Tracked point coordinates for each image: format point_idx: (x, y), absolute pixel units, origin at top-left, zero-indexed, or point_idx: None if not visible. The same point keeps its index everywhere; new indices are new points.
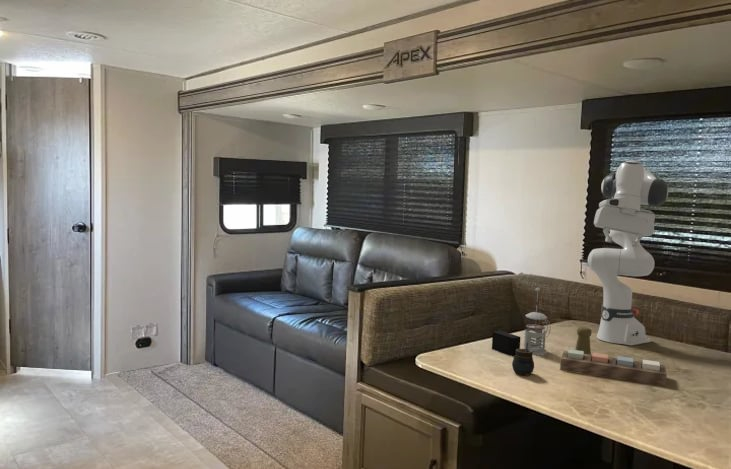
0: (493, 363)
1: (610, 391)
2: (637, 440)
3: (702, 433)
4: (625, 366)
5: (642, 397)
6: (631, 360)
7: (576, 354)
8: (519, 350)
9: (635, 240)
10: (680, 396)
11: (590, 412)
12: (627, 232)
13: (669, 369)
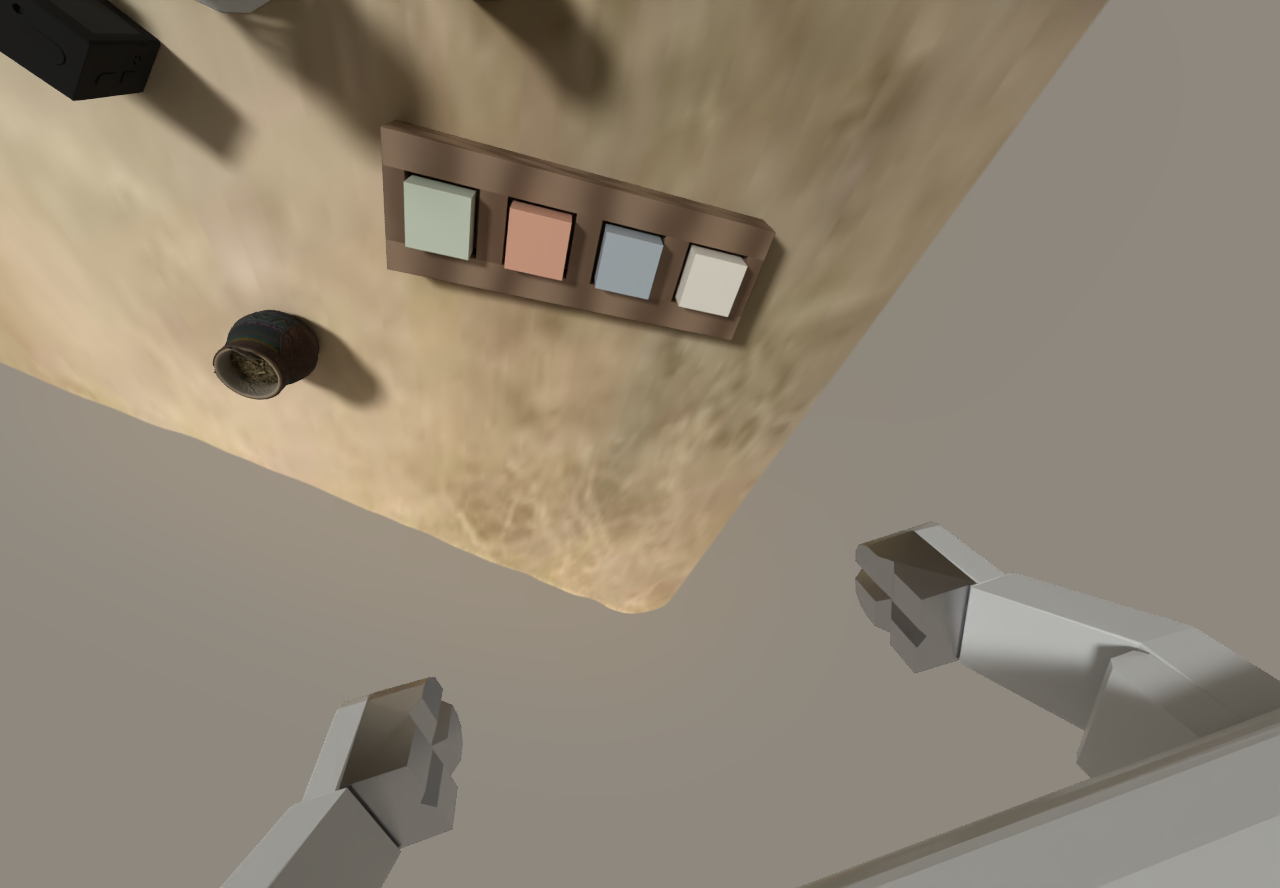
0: (136, 251)
1: (553, 408)
2: (564, 589)
3: (677, 546)
4: (620, 295)
5: (625, 424)
6: (646, 281)
7: (442, 253)
8: (225, 353)
9: (1023, 605)
10: (726, 391)
11: (497, 526)
12: (956, 853)
13: (837, 98)
